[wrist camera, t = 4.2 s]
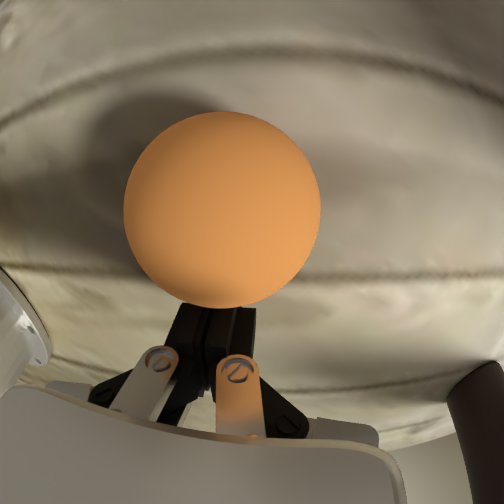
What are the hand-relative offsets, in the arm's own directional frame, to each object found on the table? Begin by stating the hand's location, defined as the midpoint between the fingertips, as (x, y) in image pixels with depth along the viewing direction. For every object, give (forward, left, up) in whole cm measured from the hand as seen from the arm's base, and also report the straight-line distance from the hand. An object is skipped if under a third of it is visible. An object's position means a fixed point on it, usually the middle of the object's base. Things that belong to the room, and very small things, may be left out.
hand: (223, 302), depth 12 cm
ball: (+1, +5, +1) cm, 5 cm away
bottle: (+23, -13, -2) cm, 26 cm away
